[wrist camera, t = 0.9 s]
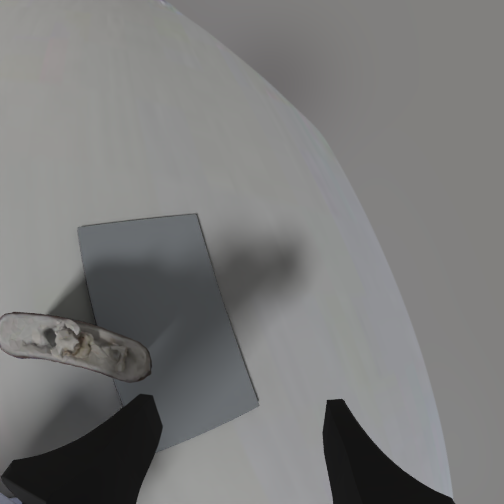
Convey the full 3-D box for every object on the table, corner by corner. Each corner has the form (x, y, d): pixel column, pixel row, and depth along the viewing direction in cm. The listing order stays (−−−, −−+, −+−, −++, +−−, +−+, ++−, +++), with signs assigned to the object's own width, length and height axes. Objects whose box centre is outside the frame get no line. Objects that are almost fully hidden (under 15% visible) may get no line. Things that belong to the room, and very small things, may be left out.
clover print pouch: (26, 353, 18) (-21, 348, 9) (31, 317, 19) (-11, 287, 10) (135, 376, 21) (160, 389, 13) (137, 341, 23) (165, 329, 14)
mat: (144, 454, 20) (145, 455, 19) (77, 230, 23) (77, 227, 23) (255, 405, 27) (259, 405, 27) (193, 216, 31) (196, 214, 30)
